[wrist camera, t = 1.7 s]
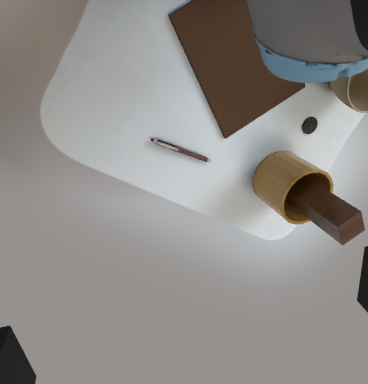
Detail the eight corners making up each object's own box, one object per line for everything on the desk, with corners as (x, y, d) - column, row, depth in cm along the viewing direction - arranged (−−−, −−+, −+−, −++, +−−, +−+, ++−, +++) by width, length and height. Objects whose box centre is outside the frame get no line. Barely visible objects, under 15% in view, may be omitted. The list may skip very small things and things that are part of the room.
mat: (168, 15, 43) (169, 15, 43) (268, -48, 44) (270, -48, 44) (224, 137, 54) (225, 138, 54) (303, 86, 55) (305, 86, 55)
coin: (317, 130, 60) (316, 114, 58) (317, 130, 60) (317, 115, 58) (303, 136, 60) (302, 120, 58) (303, 136, 59) (302, 121, 58)
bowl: (374, 57, 58) (411, 62, 52) (342, 111, 60) (374, 121, 54) (338, 30, 53) (375, 31, 47) (305, 89, 56) (336, 98, 50)
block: (265, 175, 60) (337, 227, 45) (283, 163, 60) (361, 211, 45) (272, 190, 62) (342, 245, 47) (289, 179, 63) (365, 230, 48)
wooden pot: (245, 170, 59) (274, 193, 51) (291, 140, 59) (326, 158, 52) (262, 209, 64) (290, 234, 57) (304, 181, 65) (337, 202, 57)
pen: (149, 141, 50) (151, 143, 49) (151, 136, 50) (153, 138, 49) (209, 162, 55) (211, 165, 54) (211, 158, 55) (214, 160, 54)
